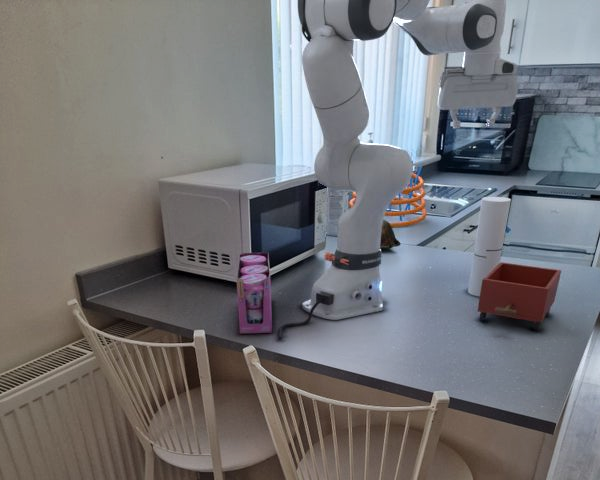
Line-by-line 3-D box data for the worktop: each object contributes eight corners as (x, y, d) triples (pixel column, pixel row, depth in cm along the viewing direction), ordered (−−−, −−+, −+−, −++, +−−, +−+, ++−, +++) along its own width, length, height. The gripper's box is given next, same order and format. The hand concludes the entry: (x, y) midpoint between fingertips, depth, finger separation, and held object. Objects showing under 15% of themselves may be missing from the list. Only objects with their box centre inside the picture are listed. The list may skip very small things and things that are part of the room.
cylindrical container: (495, 297, 147) (512, 201, 135) (468, 296, 148) (483, 201, 136) (493, 289, 153) (508, 197, 141) (467, 287, 154) (480, 196, 142)
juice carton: (339, 237, 210) (341, 162, 196) (316, 234, 215) (316, 161, 201) (349, 232, 217) (351, 160, 203) (326, 230, 221) (327, 159, 208)
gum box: (272, 335, 126) (270, 279, 119) (239, 336, 126) (234, 280, 119) (271, 301, 147) (269, 251, 140) (242, 302, 147) (238, 252, 140)
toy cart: (533, 342, 120) (543, 295, 115) (468, 330, 127) (475, 285, 122) (551, 312, 136) (561, 270, 131) (493, 303, 143) (500, 262, 138)
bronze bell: (336, 224, 189) (379, 203, 192) (339, 249, 198) (380, 229, 201) (362, 249, 180) (407, 227, 182) (364, 274, 189) (406, 253, 192)
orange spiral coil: (436, 217, 244) (446, 161, 230) (406, 239, 220) (415, 178, 206) (368, 204, 259) (373, 151, 245) (333, 223, 235) (336, 165, 220)
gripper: (445, 68, 133) (439, 130, 141) (524, 65, 135) (514, 126, 142) (436, 68, 139) (431, 128, 146) (512, 65, 140) (504, 124, 148)
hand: (473, 127), depth 144 cm, fingers open, 8 cm apart
